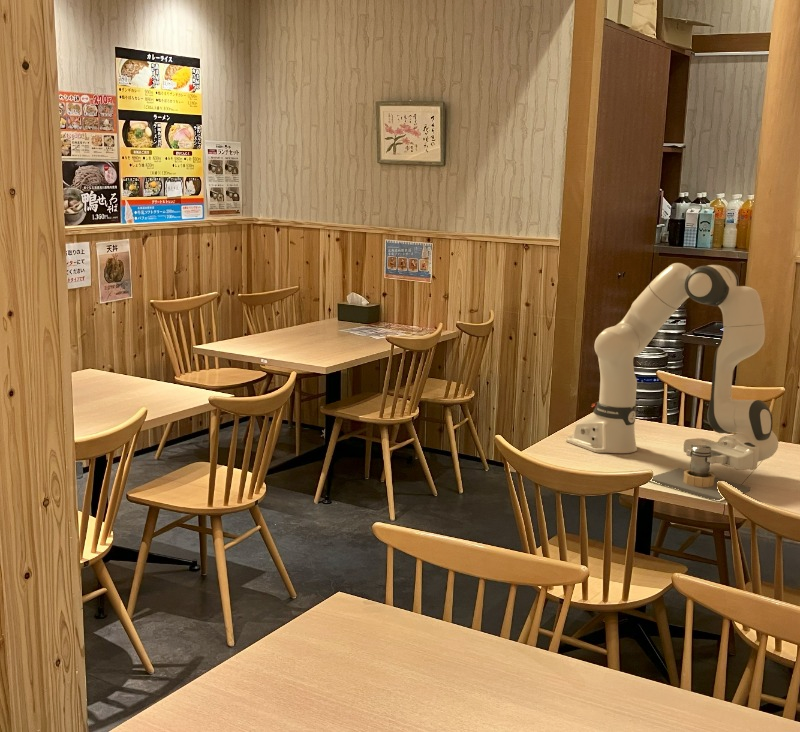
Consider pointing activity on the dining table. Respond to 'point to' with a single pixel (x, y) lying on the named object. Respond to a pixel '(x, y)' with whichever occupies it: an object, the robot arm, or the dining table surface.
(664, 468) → the dining table surface
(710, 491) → the collar plate
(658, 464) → the dining table surface
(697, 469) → the piston
